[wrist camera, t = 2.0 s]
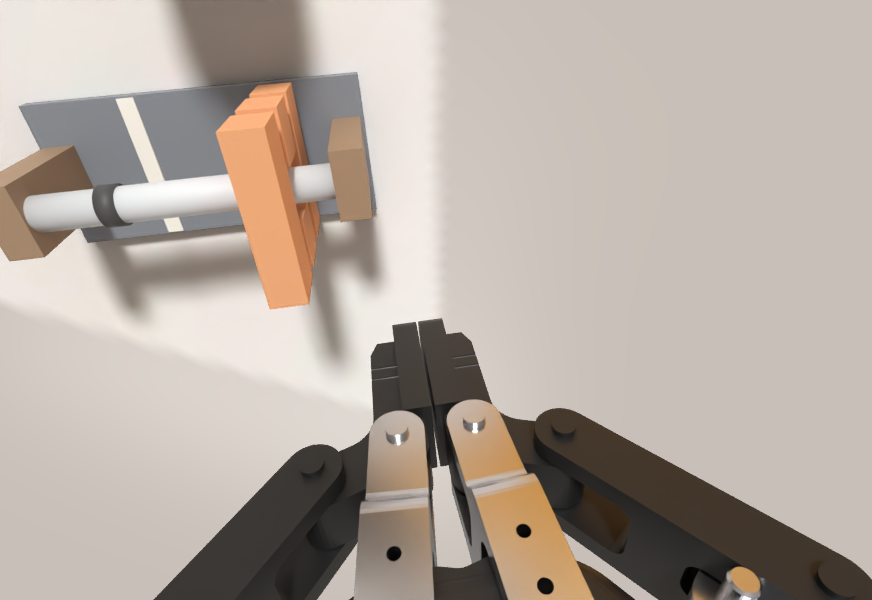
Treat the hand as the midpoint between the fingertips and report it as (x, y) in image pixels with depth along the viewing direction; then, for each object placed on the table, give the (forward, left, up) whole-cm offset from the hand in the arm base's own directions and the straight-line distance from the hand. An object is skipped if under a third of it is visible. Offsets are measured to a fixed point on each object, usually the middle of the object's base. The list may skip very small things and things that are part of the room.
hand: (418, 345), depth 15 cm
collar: (0, -6, -21) cm, 22 cm away
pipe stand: (0, -11, -23) cm, 25 cm away
